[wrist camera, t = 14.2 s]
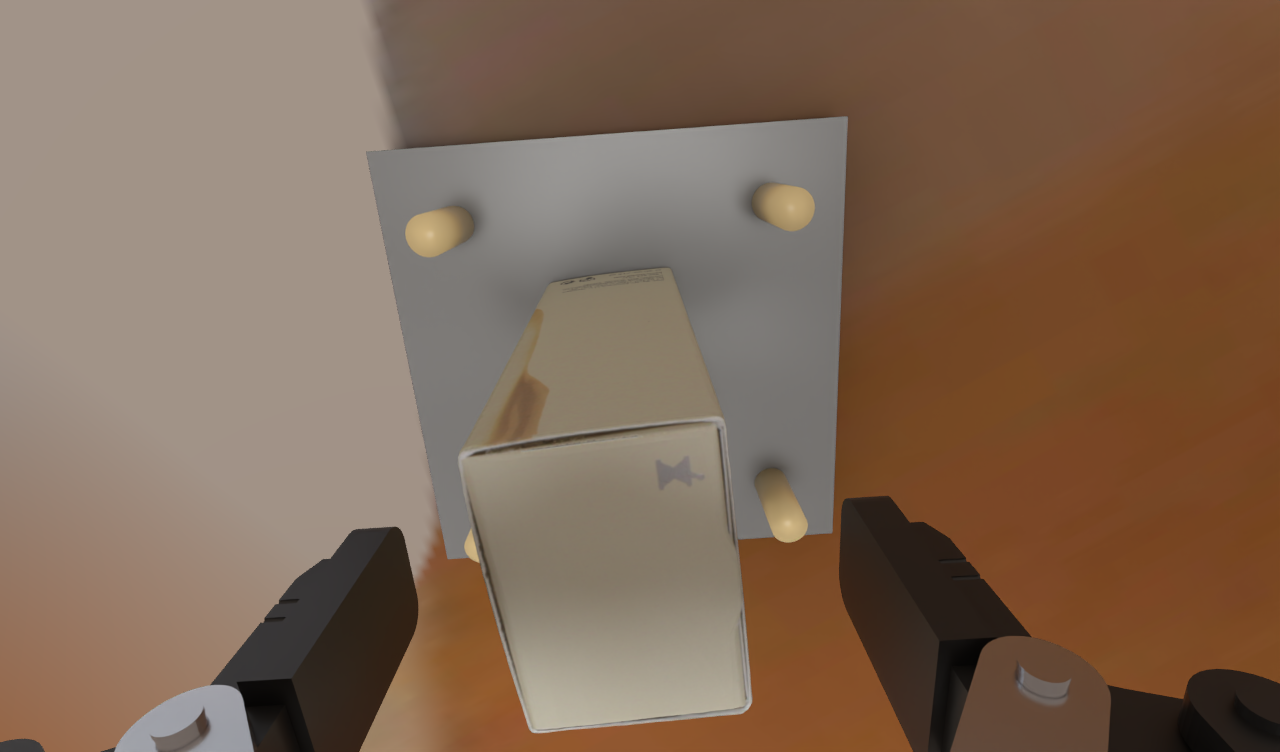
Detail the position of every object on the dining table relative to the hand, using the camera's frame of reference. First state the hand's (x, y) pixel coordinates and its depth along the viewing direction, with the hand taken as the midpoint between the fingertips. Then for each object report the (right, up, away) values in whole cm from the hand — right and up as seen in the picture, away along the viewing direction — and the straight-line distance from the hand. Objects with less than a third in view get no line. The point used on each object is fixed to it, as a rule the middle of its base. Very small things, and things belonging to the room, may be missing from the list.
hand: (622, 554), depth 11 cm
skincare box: (0, +4, +11) cm, 11 cm away
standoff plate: (0, +4, +12) cm, 13 cm away
